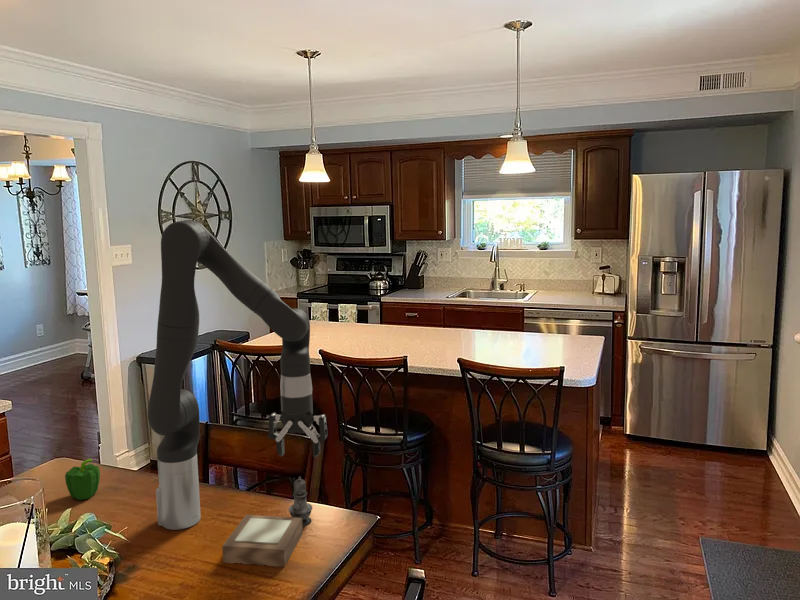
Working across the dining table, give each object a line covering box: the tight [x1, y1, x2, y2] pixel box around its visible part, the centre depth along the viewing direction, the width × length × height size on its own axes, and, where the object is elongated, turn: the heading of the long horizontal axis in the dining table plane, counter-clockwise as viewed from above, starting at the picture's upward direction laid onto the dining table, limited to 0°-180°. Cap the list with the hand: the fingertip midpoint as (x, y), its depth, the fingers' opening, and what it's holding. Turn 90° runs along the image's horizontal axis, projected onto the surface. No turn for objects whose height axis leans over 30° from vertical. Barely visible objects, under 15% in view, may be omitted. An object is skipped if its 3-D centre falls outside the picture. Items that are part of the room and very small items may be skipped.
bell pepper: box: [64, 458, 101, 501], centre depth 166 cm, size 8×8×10 cm
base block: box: [222, 514, 304, 568], centre depth 140 cm, size 14×14×4 cm
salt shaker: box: [288, 475, 313, 528], centre depth 151 cm, size 6×6×12 cm
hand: (298, 455), depth 149 cm, fingers open, 8 cm apart
